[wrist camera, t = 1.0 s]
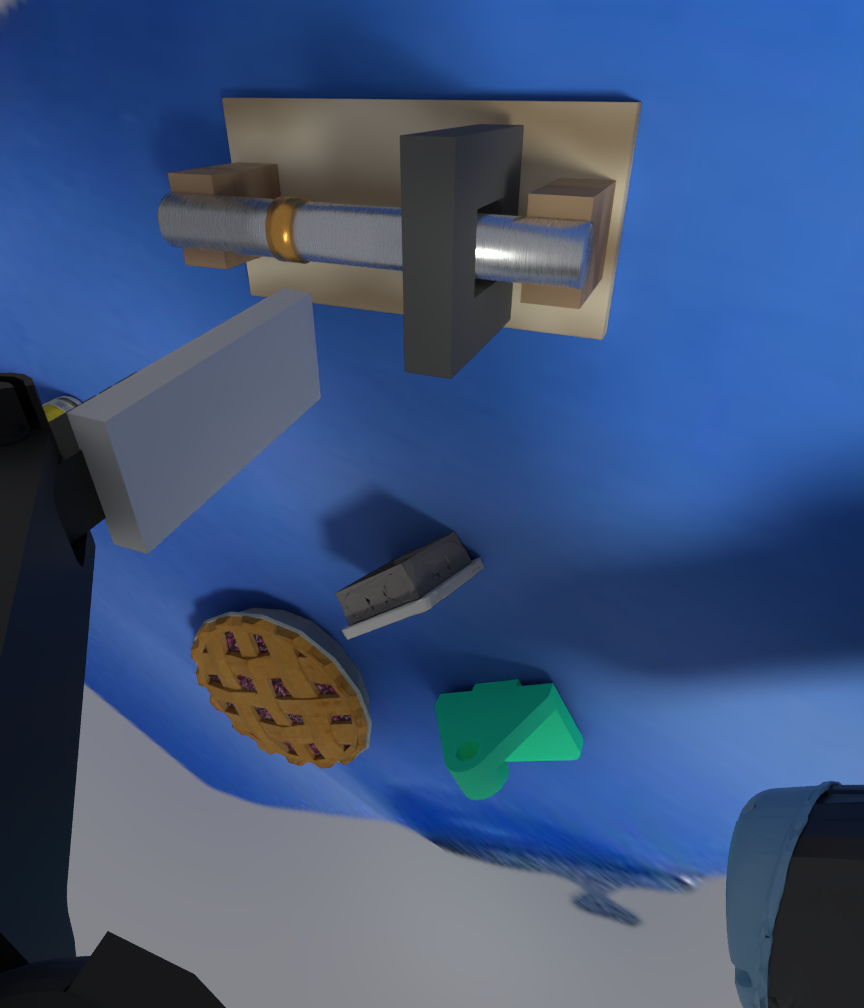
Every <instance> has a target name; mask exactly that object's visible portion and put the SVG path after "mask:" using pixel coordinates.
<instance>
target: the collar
mask: <svg viewBox="0 0 864 1008" xmlns="http://www.w3.org/2000/svg"><path fill="white" fill-rule="evenodd" d="M523 133H524V125H503V124H476V125H469V126H462V127H455V128H448V129H441V130H434V131H427V132H420V133H413V134H406V135H400V176H401V222H402V268H403V314H404V359H405V372H409V373H416V374H422V375H428V376H435V377H441V378H447V379H451V378H452V377H453V376H454V375H455V374H456V373H457V372H458V371H459V370H460V369H461V368H462V367H463V366H464V365H465V364H466V363H467V362H468V361H469V360H471V359H472V358H473V357H474V356H475V355H476V354H477V353H478V352H479V351H480V350H481V349H482V348H483V347H484V346H485V345H486V344H487V343H488V342H489V341H490V340H491V339H492V338H493V337H494V336H495V335H496V334H497V333H498V332H499V331H500V330H501V329H502V328H503V327H504V326H505V325H506V324H507V323H508V322H509V321H510V320H511V306H512V291H513V282H504V281H495V280H485V279H475V258H476V231H477V213H483V214H497V215H512V216H518V205H519V191H520V176H521V162H522V148H523Z"/></svg>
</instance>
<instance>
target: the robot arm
mask: <svg viewBox="0 0 864 1008" xmlns="http://www.w3.org/2000/svg"><path fill="white" fill-rule="evenodd" d="M319 399H321V394H320V383H319V372H318V361H317V350H316V340H315V329H314V318H313V307H312V296H311V293H309V292H303V291H296V290H290V289H281V290H279V291H277V292H276V293H274V294H272V295H270V296H269V297H267V298H265V299H263V300H262V301H260V302H258V303H257V304H255V305H253V306H251V307H250V308H248V309H246V310H244V311H243V312H241V313H239V314H237V315H236V316H234V317H232V318H230V319H229V320H227V321H225V322H224V323H222V324H220V325H218V326H217V327H215V328H213V329H211V330H210V331H208V332H206V333H204V334H203V335H201V336H199V337H197V338H196V339H194V340H192V341H191V342H189V343H187V344H185V345H184V346H182V347H180V348H178V349H177V350H175V351H173V352H171V353H170V354H168V355H166V356H164V357H163V358H161V359H159V360H158V361H156V362H154V363H152V364H151V365H149V366H147V367H145V368H144V369H142V370H140V371H138V372H136V373H133V374H131V375H130V376H128V377H126V378H124V379H123V380H121V381H119V382H118V383H116V384H115V385H114V386H111V387H109V388H107V389H105V390H104V391H102V392H100V393H99V394H98V395H95V396H93V397H91V398H90V399H88V400H86V401H84V402H83V403H81V404H79V405H77V406H76V407H74V408H72V409H70V410H69V411H67V412H65V413H64V414H62V415H60V416H58V417H57V418H55V419H53V420H51V421H50V422H48V419H47V416H46V414H45V411H44V409H43V406H42V403H41V401H40V398H39V395H38V393H37V390H36V388H35V385H34V382H33V380H32V378H30V377H28V376H26V375H24V374H17V373H0V1008H226V1007H225V1006H224V1005H223V1004H222V1003H221V1002H220V1001H219V1000H218V999H217V998H216V997H215V996H214V995H213V993H212V992H211V991H210V990H209V989H208V988H207V987H206V986H205V985H204V984H203V983H202V982H201V981H200V980H199V979H198V977H197V976H196V975H195V974H193V973H191V972H189V971H187V970H185V969H183V968H181V967H179V966H177V965H175V964H173V963H171V962H169V961H167V960H164V959H163V958H161V957H159V956H157V955H155V954H153V953H151V952H149V951H147V950H145V949H143V948H141V947H139V946H137V945H135V944H133V943H131V942H129V941H127V940H125V939H123V938H121V937H119V936H117V935H115V934H113V933H111V932H109V931H108V932H107V933H106V934H105V936H104V937H103V939H102V940H101V942H100V943H99V945H98V946H97V947H96V949H95V950H94V952H93V953H92V955H91V956H80V957H76V951H75V941H74V936H73V931H72V927H71V923H70V919H69V914H68V907H67V880H68V868H69V856H70V844H71V833H72V821H73V808H74V796H75V785H76V772H77V761H78V760H77V759H78V749H79V737H80V725H81V712H82V701H83V689H84V677H85V665H86V654H87V642H88V630H89V618H90V606H91V594H92V582H93V570H94V558H95V543H94V539H93V537H92V534H91V531H90V529H92V528H93V527H94V526H96V525H97V524H98V523H99V522H101V521H102V520H103V519H105V521H106V524H107V527H108V529H109V532H110V535H111V538H112V540H113V543H114V544H115V545H119V546H122V547H125V548H129V549H132V550H135V551H139V552H142V553H145V554H148V553H149V552H150V551H152V550H153V549H154V548H155V547H156V546H157V545H158V544H159V543H160V542H162V541H163V540H164V539H165V538H166V537H167V536H168V535H169V534H170V533H172V532H173V531H174V530H175V529H176V528H177V527H178V526H179V525H180V524H182V523H183V522H184V521H185V520H186V519H187V518H188V517H189V516H190V515H192V514H193V513H194V512H195V511H196V510H197V509H198V508H199V507H200V506H202V505H203V504H204V503H205V502H206V501H207V500H208V499H209V498H210V497H212V496H213V495H214V494H215V493H216V492H217V491H218V490H219V489H220V488H222V487H223V486H224V485H225V484H226V483H227V482H228V481H229V480H230V479H232V478H233V477H234V476H235V475H236V474H237V473H238V472H239V471H240V470H242V469H243V468H244V467H245V466H246V465H247V464H248V463H249V462H250V461H252V460H253V459H254V458H255V457H256V456H257V455H258V454H259V453H260V452H262V451H263V450H264V449H265V448H266V447H267V446H268V445H269V444H270V443H272V442H273V441H274V440H275V439H276V438H277V437H278V436H279V435H280V434H282V433H283V432H284V431H285V430H286V429H287V428H288V427H289V426H291V425H292V424H293V423H294V422H295V421H296V420H297V419H298V418H299V417H301V416H302V415H303V414H304V413H305V412H306V411H307V410H308V409H309V408H311V407H312V406H313V405H314V404H315V403H316V402H317V401H318V400H319ZM726 918H727V935H728V936H727V937H728V946H729V953H730V958H731V961H732V963H733V964H734V965H735V984H736V988H737V992H738V995H739V998H740V1001H741V1004H742V1006H743V1008H864V785H841V783H840V782H835V781H828V782H823V783H822V784H820V785H819V786H805V787H790V788H775V789H768V790H765V791H762V792H760V793H758V794H756V795H755V796H753V797H752V798H751V799H750V800H749V801H748V802H747V804H746V805H745V806H744V808H743V809H742V812H741V814H740V816H739V819H738V821H737V822H736V825H735V828H734V832H733V835H732V840H731V844H730V850H729V857H728V866H727V879H726Z"/></svg>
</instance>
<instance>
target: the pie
mask: <svg viewBox="0 0 864 1008" xmlns="http://www.w3.org/2000/svg"><path fill="white" fill-rule="evenodd" d="M191 658H192V659H193V660H195V661H196V666H197V671H196V675H197V679H198V683H199V685H201V686H203V687H206V688H207V689H208V691H209V692H210V694H211V696H210V703H211V704H212V705H213V706H214V707H215V708H216V710H219V711H221V712H224V713H225V714H226V715H227V716H228V717H229V718H230V720H231V721H232V727H233V728H234V729H235V730H237V731H238V732H239V733H240V734H242V735H246V736H249V737H251V738H252V739H253V740H255V741H256V742H257V744H258V747H259V749H261V750H263V751H265V752H267V753H269V754H273V753H275V752H276V753H279V754H281V755H284V756H286V758H287V760H288V762H289V763H292V764H295V765H299V766H302V765H303V764H305V763H307V762H312V763H314V764H315V765H317V766H318V767H320V768H330V767H332V766H333V765H334V764H335V763H339V762H341V763H342V764H343V765H345V764H347V763H350V762H352V761H353V759H354V758H355V757H357V756H358V755H359V754H361V753H362V752H363V751H365V750H366V749H367V748H369V743H370V735H371V726H372V721H371V718H370V716H369V705H370V698H369V695H368V693H367V690H366V687H365V684H364V682H363V679H362V676H361V674H360V671H359V670H358V668H357V667H356V666H355V664H354V663H353V662H352V660H351V659H350V658H349V656H348V655H347V654H346V652H345V651H344V650H343V648H342V647H341V646H340V644H339V643H338V642H337V641H336V640H334V639H333V638H332V637H331V636H330V635H328V634H327V633H326V632H325V631H324V630H322V629H321V628H320V627H319V626H318V625H317V624H315V623H314V622H313V621H311V620H308V619H306V618H303V617H300V616H298V615H295V614H293V613H290V612H288V611H285V610H278V609H266V608H251V609H247V610H244V611H241V612H227V613H224V614H221V615H219V616H216V617H213V618H210V619H207V620H205V621H204V623H203V624H202V626H201V627H200V629H199V631H198V632H197V634H196V635H195V637H194V638H193V646H192V648H191Z"/></svg>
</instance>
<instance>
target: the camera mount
mask: <svg viewBox="0 0 864 1008" xmlns="http://www.w3.org/2000/svg"><path fill="white" fill-rule="evenodd" d="M435 711H436V716H437V722H438V728H439V733H440V739H441V745H442V750H443V756H444V761H445V765H446V767H447V768H448V770H449V771H450V773H451V775H452V776H453V778H454V779H455V781H456V782H457V784H458V785H459V787H460V788H461V790H462V791H463V793H464V794H465V796H466V797H468V798H469V799H472V800H482V799H486V798H488V797H490V796H492V795H494V794H495V793H497V792H498V791H499V790H500V789H501V788H502V786H503V785H504V784H505V782H506V780H507V777H508V773H509V768H508V765H507V763H506V762H512V761H554V760H576V759H578V758H579V757H580V754H581V750H582V746H583V742H584V739H583V737H582V735H581V733H580V731H579V730H578V728H577V726H576V724H575V722H574V720H573V719H572V717H571V715H570V713H569V711H568V709H567V708H566V706H565V704H564V702H563V700H562V698H561V697H560V695H559V693H558V691H557V689H556V687H555V686H554V684H553V683H547V684H537V685H527V686H522V684H521V683H520V681H519V679H516V680H507V681H498V682H488V683H479V684H475V685H474V687H473V690H472V691H465V692H455V693H445V694H440V696H439V698H438V700H437V702H436V704H435Z"/></svg>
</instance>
